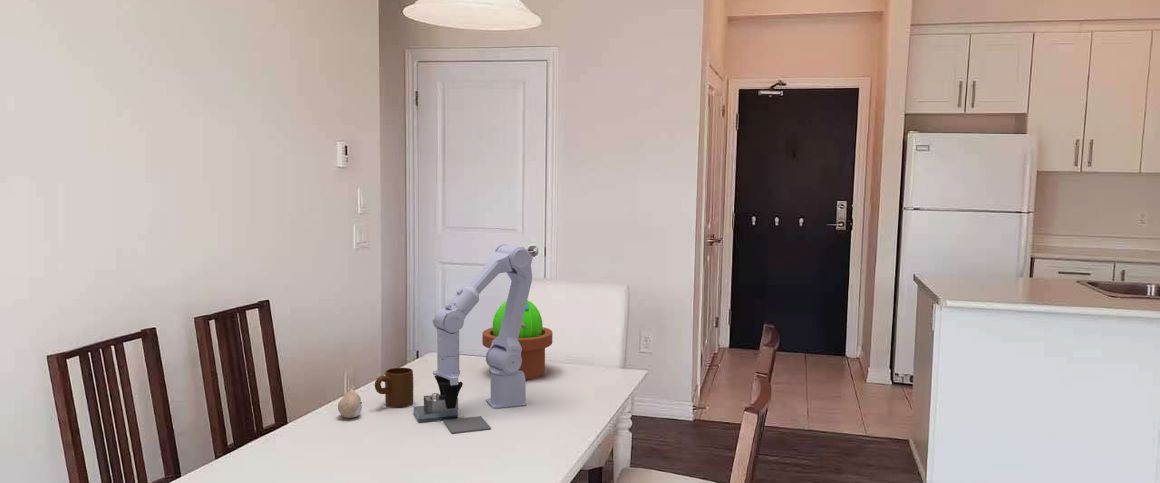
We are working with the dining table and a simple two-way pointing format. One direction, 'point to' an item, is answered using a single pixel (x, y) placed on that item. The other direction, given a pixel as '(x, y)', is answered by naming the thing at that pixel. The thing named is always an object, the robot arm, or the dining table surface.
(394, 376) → the mug
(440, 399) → the gray tabletop stand
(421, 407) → the metal base with post
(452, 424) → the mat
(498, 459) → the dining table surface
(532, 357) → the potted cactus
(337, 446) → the dining table surface
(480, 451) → the dining table surface
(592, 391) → the dining table surface
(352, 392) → the garlic bulb
